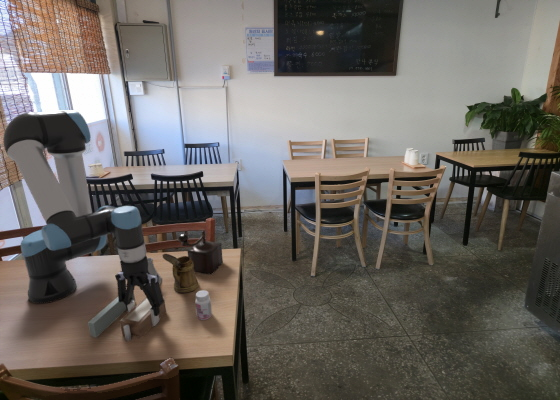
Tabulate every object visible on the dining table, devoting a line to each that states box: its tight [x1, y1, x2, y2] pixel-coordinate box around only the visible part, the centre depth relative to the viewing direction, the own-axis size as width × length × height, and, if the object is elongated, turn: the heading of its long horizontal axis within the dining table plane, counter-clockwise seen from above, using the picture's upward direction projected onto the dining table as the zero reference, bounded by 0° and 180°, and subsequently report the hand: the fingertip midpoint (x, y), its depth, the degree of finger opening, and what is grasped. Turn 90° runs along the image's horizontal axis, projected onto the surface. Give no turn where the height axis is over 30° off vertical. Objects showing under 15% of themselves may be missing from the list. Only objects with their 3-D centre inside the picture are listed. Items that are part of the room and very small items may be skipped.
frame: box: [119, 296, 167, 339], centre depth 111 cm, size 7×13×5 cm, turn 164°
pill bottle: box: [195, 290, 213, 321], centre depth 113 cm, size 5×5×8 cm
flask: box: [144, 257, 163, 286], centre depth 133 cm, size 7×7×10 cm
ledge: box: [87, 291, 136, 341], centre depth 113 cm, size 13×19×5 cm
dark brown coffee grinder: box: [177, 229, 224, 275], centre depth 140 cm, size 16×11×18 cm
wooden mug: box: [161, 253, 199, 294], centre depth 127 cm, size 9×14×18 cm, turn 160°
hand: (145, 321), depth 112 cm, fingers open, 7 cm apart
